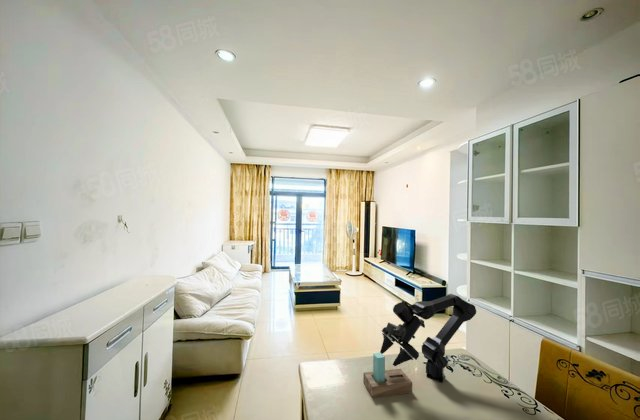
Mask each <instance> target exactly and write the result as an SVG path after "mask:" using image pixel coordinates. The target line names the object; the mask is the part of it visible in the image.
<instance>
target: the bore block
mask: <svg viewBox="0 0 640 420" xmlns="http://www.w3.org/2000/svg"><path fill="white" fill-rule="evenodd" d="M363 384H364V386H365V388H366V389H367V391H368V393H369V395H370V397H371V398H380V397H389V396H396V395H402V394H403V395H405V394H410V393H412V394H413V381H412V379H410V378H409V377H408V375H406V373H405V371H403V370H402V368H396V369H385V382H378V383H376V382H375V380H374V379H373V371H365V372H363Z"/></svg>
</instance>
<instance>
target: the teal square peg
mask: <svg viewBox="0 0 640 420" xmlns="http://www.w3.org/2000/svg"><path fill="white" fill-rule="evenodd" d="M372 355H373V356H372V359H373V360H372V364H373V365H372V366H373V367H372V372H373V379H374V380H375V382H376V383H378V382H385V370H386V356H385V355H384V354H381V353H380V352H376V353H373V354H372Z"/></svg>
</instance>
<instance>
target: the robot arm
mask: <svg viewBox="0 0 640 420" xmlns="http://www.w3.org/2000/svg"><path fill="white" fill-rule="evenodd" d="M451 307H453V308H452V315H451V316H450V317H449V318H448V319H447V322H445V323H444V324H443V326H442V327H441V329H440V330H439V331H438V333H437V334H436V335H435V336H434V337H430V336H427V338H426V339H425V341H423V342H422V345H421V353H422V356H423V357H424V359H426V360H427V361H426V362H425V374H426V376H425V377H426V378H428V379H432V380H434V381H437V382H440V383H443V382H444V378H445V372H444V371H445V368H446V367H448V363H449V361H448V360H447V359H446V357H445V355H446V346H447V345H448V344H449V342H450V341H451V339H452V338H453V337H454V335H455V334H456V333H457V331H458V330H459V329H460V327H461V326H462V325H463V324H464V323H466V322H468V321H470V320H471V319H473V318H474V317H475V315H476V314H477V309H476V306H475V305H474V304H472V303H469V302H467V301H466V300H464V299H463V298H461V297H460V296H459V295H456V294H453V293H448V294H447V295H445V296H442V297H438V298H436V299H433V300H430V301H427V300H426V301H422V300H421V301H415V302H414V303H413V304H410V305H409V304H408V303H407V301H405V300H402V301H400V302H398V303H396V304H395V305H394V306H393V307H392V311H393V314H395V316H397V318H398V319H400V321H401V322H403V323H402V324H401V323H400V324H397V325H396V324H393V323H391V322H387V325H386V326H385V327H383V328H382V329H381V332H382V336H383V338H382V339H383V341H382V344H381V348H380V351H379V353H381V354H382V355H384V354H385V352H387V351H388V350H389V349H390V348H391V347H392V346H394V344H395V343H397V344H398V345H399V346H400V347H399V353H398V354H397V356H396V357H395V359H394V361H393V362H392V366H393V367H396V366H399V365H401V364H402V363H406V362H408V361H413V360H415V361H417V360H418V359H419V356H420V353H419V352H418V350H416V348H415V347H414V346H413V345H412V344H410V341H411V340H412V339H416V336H415V334H416V333H417V332H418V330H419V328H421V327H422V328H424V329H425V328H426V325H425V320H426V321H427V320H429V319H431V318H432V317H433V318H434V316H435V315H436V313H437V312H439V311H442V310H445V309H448V308H451ZM394 342H395V343H394Z"/></svg>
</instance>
